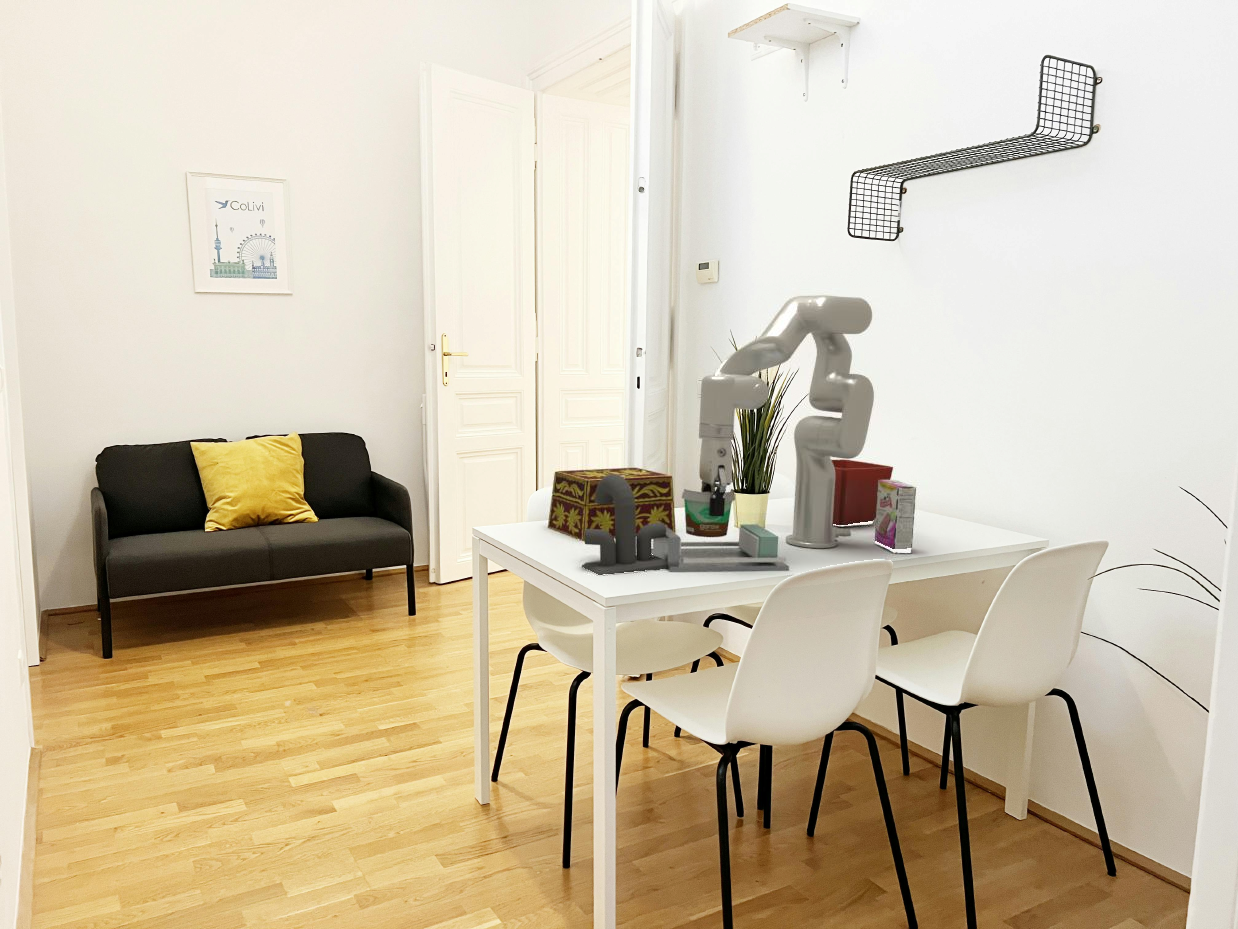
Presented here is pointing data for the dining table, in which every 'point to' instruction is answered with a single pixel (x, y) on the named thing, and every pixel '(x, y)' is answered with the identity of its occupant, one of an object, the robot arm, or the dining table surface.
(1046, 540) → the dining table surface
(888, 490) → the candy bar box
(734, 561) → the vise bed
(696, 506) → the food container
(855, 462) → the plant pot
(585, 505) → the decorative box
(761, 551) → the block
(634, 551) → the faucet
